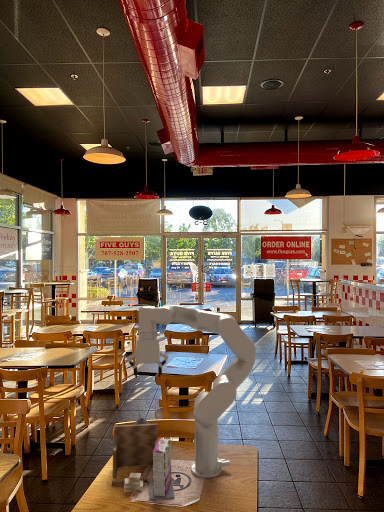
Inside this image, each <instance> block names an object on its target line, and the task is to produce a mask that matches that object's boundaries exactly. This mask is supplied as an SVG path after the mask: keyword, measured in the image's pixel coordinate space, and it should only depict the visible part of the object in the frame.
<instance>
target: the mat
mask: <svg viewBox="0 0 384 512" xmlns="http://www.w3.org/2000/svg"><path fill="white" fill-rule="evenodd" d="M148 484H149V487H148V488H149V489H150V490H149V501H158V500H159V499H162V500H173V499H175V491H174V490H175V488H174V482H173V479H172V481H171V483H170V486H169V489H168V492H167V495H166V497H162V496H154V493H153V492H154V491H153V480H148ZM159 501H160V500H159Z"/></svg>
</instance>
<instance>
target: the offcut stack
mask: <svg viewBox="0 0 384 512" xmlns="http://www.w3.org/2000/svg"><path fill="white" fill-rule="evenodd" d="M140 479H142V473H141V472H130V474H129V477H125V478H124V480H125V483H124V485H123V492H124V493H126V492H127V493H128V492H129V493H130V492H136V491H135V490H143V491H144V484H143V481H140Z"/></svg>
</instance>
